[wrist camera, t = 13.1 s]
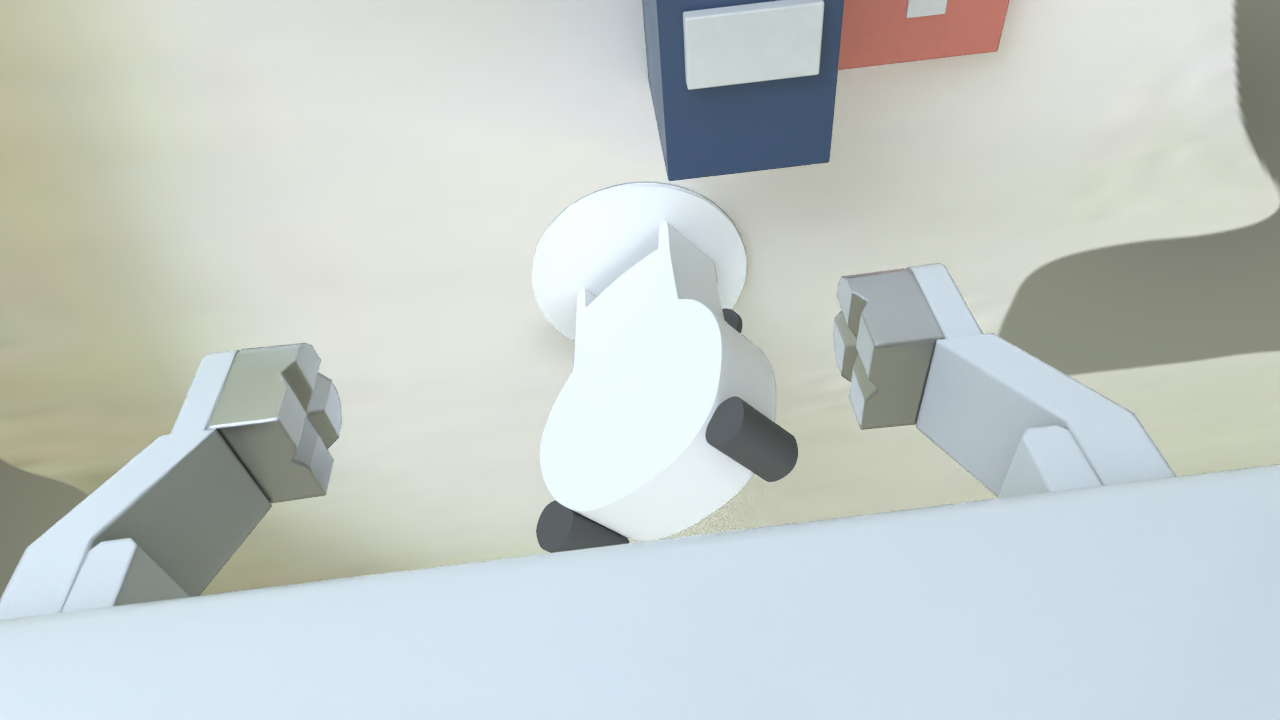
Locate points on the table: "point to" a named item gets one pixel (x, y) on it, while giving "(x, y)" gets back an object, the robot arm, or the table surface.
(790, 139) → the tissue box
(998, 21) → the tissue packet
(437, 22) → the table surface
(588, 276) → the panda figurine
